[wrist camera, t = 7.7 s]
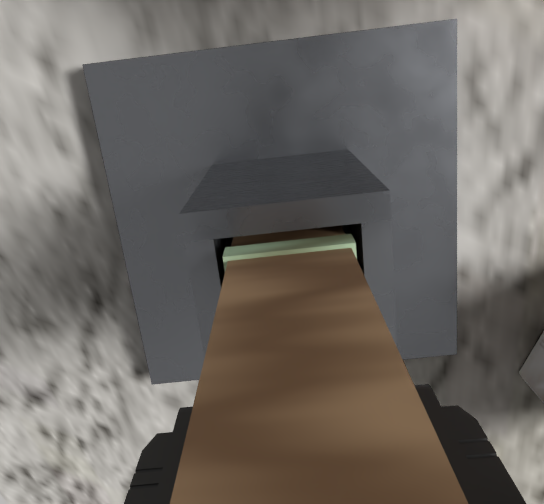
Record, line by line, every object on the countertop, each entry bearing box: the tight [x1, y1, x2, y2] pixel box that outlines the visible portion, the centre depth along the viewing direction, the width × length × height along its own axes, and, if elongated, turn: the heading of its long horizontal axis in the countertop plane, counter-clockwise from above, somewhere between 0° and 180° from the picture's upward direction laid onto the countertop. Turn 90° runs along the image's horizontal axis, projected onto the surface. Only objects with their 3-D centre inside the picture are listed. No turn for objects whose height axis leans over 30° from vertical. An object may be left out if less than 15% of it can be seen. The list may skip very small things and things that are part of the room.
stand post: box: [170, 225, 468, 504], centre depth 15 cm, size 4×4×16 cm
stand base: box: [83, 19, 457, 384], centre depth 24 cm, size 18×18×12 cm
